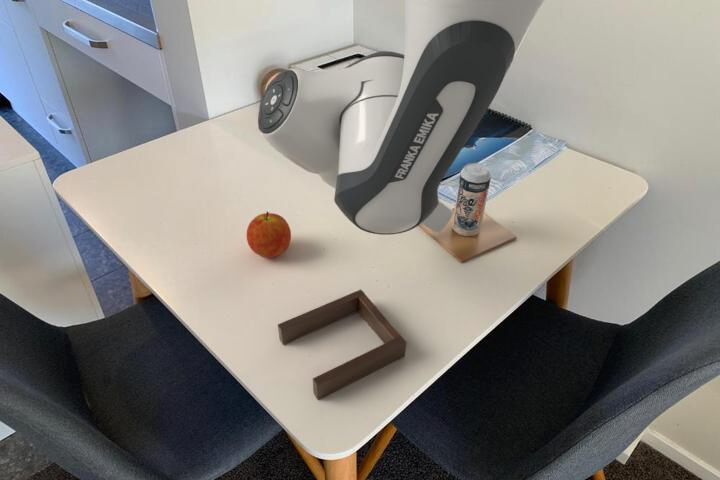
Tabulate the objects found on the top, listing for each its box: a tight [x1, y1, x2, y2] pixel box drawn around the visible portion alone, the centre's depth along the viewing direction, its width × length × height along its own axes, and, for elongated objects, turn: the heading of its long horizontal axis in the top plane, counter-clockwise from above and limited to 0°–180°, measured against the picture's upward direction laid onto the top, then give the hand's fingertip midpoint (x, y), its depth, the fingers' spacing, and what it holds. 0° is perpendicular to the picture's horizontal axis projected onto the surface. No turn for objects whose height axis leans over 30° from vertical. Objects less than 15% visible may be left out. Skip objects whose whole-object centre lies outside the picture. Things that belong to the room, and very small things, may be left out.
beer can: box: [452, 162, 492, 236], centre depth 86 cm, size 5×5×12 cm
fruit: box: [246, 211, 292, 259], centre depth 83 cm, size 7×7×8 cm
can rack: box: [277, 289, 407, 401], centre depth 69 cm, size 11×13×3 cm
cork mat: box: [417, 207, 517, 264], centre depth 90 cm, size 12×12×1 cm
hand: (414, 202), depth 76 cm, fingers open, 8 cm apart
